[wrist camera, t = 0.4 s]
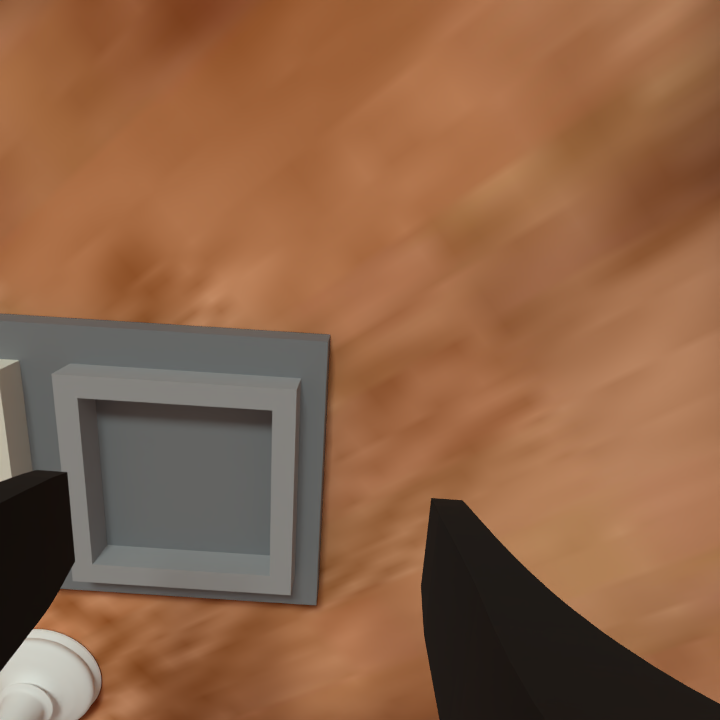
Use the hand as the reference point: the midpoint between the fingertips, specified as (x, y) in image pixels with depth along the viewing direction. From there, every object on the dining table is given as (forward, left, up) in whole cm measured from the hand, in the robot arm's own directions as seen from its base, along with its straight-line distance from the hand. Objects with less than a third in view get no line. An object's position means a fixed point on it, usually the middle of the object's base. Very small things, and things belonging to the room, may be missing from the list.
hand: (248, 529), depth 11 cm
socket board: (-4, +9, -10) cm, 14 cm away
